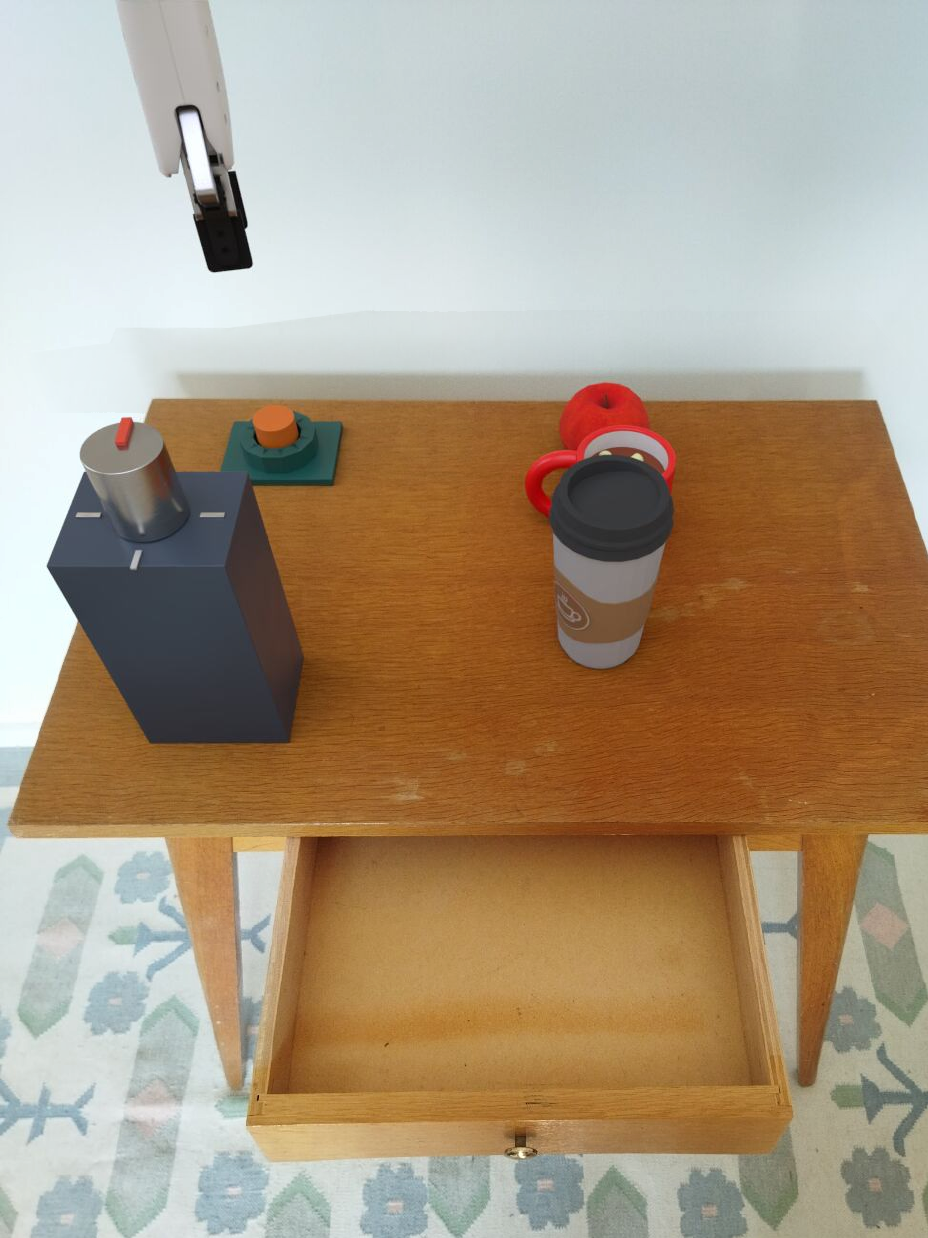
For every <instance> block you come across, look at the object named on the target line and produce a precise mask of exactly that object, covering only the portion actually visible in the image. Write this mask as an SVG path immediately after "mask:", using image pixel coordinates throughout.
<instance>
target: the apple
mask: <svg viewBox="0 0 928 1238" xmlns="http://www.w3.org/2000/svg"><path fill="white" fill-rule="evenodd" d="M616 425H631V426H638V427H642V428H646V429H648V430H650V426H651V424H650V419H649V415H648V412H647V410H646V407H645V404H644V402H643V400H642V398H641V397H640V396H639V395H638V394H637V393H636V392H634V390H632V389H631V388H630V387H628V386H626V385H623V384H620V383H616V382H606V381H605V382H598V383H593V384H588V385H587V386H585V387H583V388H581V389H579V390H578V391H576V392H575V393H574V395H573V396H572V397H571V398H570V399H569V400H568V402H567V403H566V405H565V407H564V408H563V410H562V412H561V416H560V418H559V427H558V433H559V437H560V440H561V443H562V446H563V448H564V450H573V451H577V450H578V447H579V445H580V444H581V442H582V441H583V440H584V439H585V438H586V437H587V436H588V435H590V434H591V433H593V432H594V431H597V430H599V429H601V428H605V427H609V426H616Z"/></svg>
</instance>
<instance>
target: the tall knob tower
mask: <svg viewBox="0 0 928 1238" xmlns="http://www.w3.org/2000/svg"><path fill="white" fill-rule="evenodd" d="M176 474H177V476H178V479H179V482H180V484H181V487H182V490H183V492H184V495H185V497H186V500H187V503H188V506H189V515H188V518H187V520H186V522H185V523H184V524H183V526H182V527H181V528H180V529H178V530H177V531H176V532H174V533H173V534H171V535H169V536H167V537H165V538H162V539H160V540H156V541H150V542H134V541H130V540H127V539H124V538H122V537H121V536H119V535H118V534H117V533H116V532H115V530H114V529H113V527H112V525H111V523H110V521H109V518H108V516H107V514H106V512H105V510H104V508H103V506H102V504H101V502H100V500H99V498H98V496H97V494H96V491H95V489H94V487H93V485H92V483H91V481H90V479H89V477H88V475H87V473H86V471H83V473H82V475H81V478H80V480H79V482H78V485H77V487H76V490H75V493H74V495H73V498H72V500H71V503H70V506H69V508H68V510H67V513H66V516H65V518H64V520H63V523H62V525H61V528H60V531H59V533H58V536H57V538H56V541H55V543H54V545H53V547H52V551H51V553H50V556H49V558H48V560H47V563H46V569H47V570H48V573H49V574H50V576H51V577H52V579H53V580H54V583H55V584H56V586H57V587H58V589H59V591H60V592H61V594H62V596H63V598H64V599H65V601H66V602H67V605H68V606H69V608H70V610H71V611H72V613H73V615H74V617H75V618H76V620H77V622H78V623H79V625H80V627H81V628H82V630H83V632H84V633H85V635H86V637H87V639H88V640H89V642H90V644H91V646H92V647H93V649H94V650H95V652H96V654H97V656H98V657H99V659H100V661H101V662H102V664H103V666H104V667H105V669H106V671H107V672H108V675H109V676H110V678H111V680H112V682H113V683H114V684H115V687H116V688H117V690H118V692H119V693H120V695H121V697H122V698H123V700H124V702H125V703H126V705H127V707H128V709H129V711H130V712H131V714H132V715H133V717H134V720H136V722H137V724H138V726H139V727H140V729H141V732H142V733H143V735H145V738H146V739H147V742H148V743H149V744H283V743H284V744H285V743H286V744H289V743H290V741H291V737H292V736H291V735H292V729H293V723H294V717H295V713H296V712H295V711H296V706H297V699H298V694H299V689H300V682H301V676H302V671H303V670H302V669H303V664H304V659H305V654H304V651H303V648H302V644H301V642H300V638H299V635H298V632H297V629H296V628H297V627H296V626H295V622H294V618H293V615H292V612H291V608H290V606H289V603H288V599H287V596H286V592H285V589H284V585H283V583H282V579H281V576H280V573H279V569H278V566H277V563H276V560H275V556H274V553H273V549H272V546H271V543H270V540H269V537H268V533H267V529H266V526H265V523H264V520H263V516H262V514H261V513H262V512H261V510H260V506H259V504H258V500H257V496H256V494H255V490H254V487H253V485H252V483H251V480H250V477H249V473H248V472H220V471H176Z"/></svg>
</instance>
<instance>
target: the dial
mask: <svg viewBox="0 0 928 1238" xmlns="http://www.w3.org/2000/svg"><path fill="white" fill-rule="evenodd" d="M79 460H80V462H81V464H82V466H83V468H84V472H86V473H87V475H88V477H89V479H90V481H91V483H92V485H93V487H94V489H95V491H96V494H97V496H98V498H99V500H100V502H101V504H102V506H103V508H104V510H105V512H106V514H107V516H108V518H109V521H110V523H111V525H112V527H113V529H114V530H115V532H116V533H117V534H118V535H119V536H121V537H122V538H124V539H127V540H130V541H134V542H150V541H156V540H160V539H162V538H165V537H167V536H169V535H171V534H173V533H174V532H176V531H177V530H178V529H180V528H181V527H182V526H183V524H184V523H185V522H186V520H187V518H188V515H189V506H188V503H187V500H186V497H185V495H184V492H183V490H182V487H181V484H180V482H179V479H178V476H177V474H176V472H177V470H176V469H175V466H174V464H173V461H172V458H171V456H170V453H169V451H168V448H167V445H166V443H165V441H164V437H163V435H162V434H161V432H160V431H159V429H157V428H155V427H154V426H152V425H150V424H148V423H144V422H141V421H134V420H133V417H132V416H127V417H126V416H125V417H124V416H123V417H121V418H120V422H116V423H111V424H108V425H106V426H104V427H101V428H99V429H97V430H96V431H94V432H92V433H91V434H89V436H88V437H87V438H86V439H85V440H84V441H83V443H82V444H81V447H80V448H79Z"/></svg>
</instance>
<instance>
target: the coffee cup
mask: <svg viewBox="0 0 928 1238" xmlns="http://www.w3.org/2000/svg"><path fill="white" fill-rule="evenodd" d="M550 499H551V508H550V510H549V517H548V522H549V526H550V527H551V530H552V543H553V544H552V546H553V561H552V562H553V564H552V567H553V586H554V600H555V601H554V603H555V616H556V619H557V620H556V621H557V638H558V641H559V644H560V647H561V648H562V650H563V651H565V653H566V654H567V656H568V657H569V658H570V659H571V660H573V661H574V662H575V663H577V664H579V665H581V666H583V667H585V668H591V669H596V670H597V669H599V670H600V669H601V670H603V669H610V668H615V667H617V666H619V665H622V664H623V663H625V662H626V661H627V660H629V659H630V658H631V657H632V656H633V655H634V654H635V653H636V651H637V650H638V648H639V646H640V642H641V640H642V639H641V638H642V636H643V631H644V628H645V624H646V622H647V620H648V617H649V613H650V609H651V605H652V602H653V598H654V594H655V590H656V585H657V582H658V578H659V574H660V572H661V562H662V558H663V554H664V550H665V546H666V542H667V540H668V539H669V538H670V537H671V535H672V531H673V528H674V524H675V523H674V512H675V509H674V500H673V497H672V494H671V495H670V493H669V487H668V485H667V483H666V481H665V479H664V477H663V476H662V475H661V474H660V473H659V472H658V471H657V470H656V469H655V468H653V467H652V466H650V465H649V464H647V463H646V462H643V461H641V460H638V459H635V458H633V457H628V456H622V455H599V456H593V457H589V458H587V459H584V460H581V461H579V462H577V463H576V464H574V465H573V466H571V467H570V468H567V469H566V471H564V473H563V474H562V475H561V477H560V480H559V481H558V484H557V485H556V486H555V488H554V490H553V493H552V496H551V498H550Z"/></svg>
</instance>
